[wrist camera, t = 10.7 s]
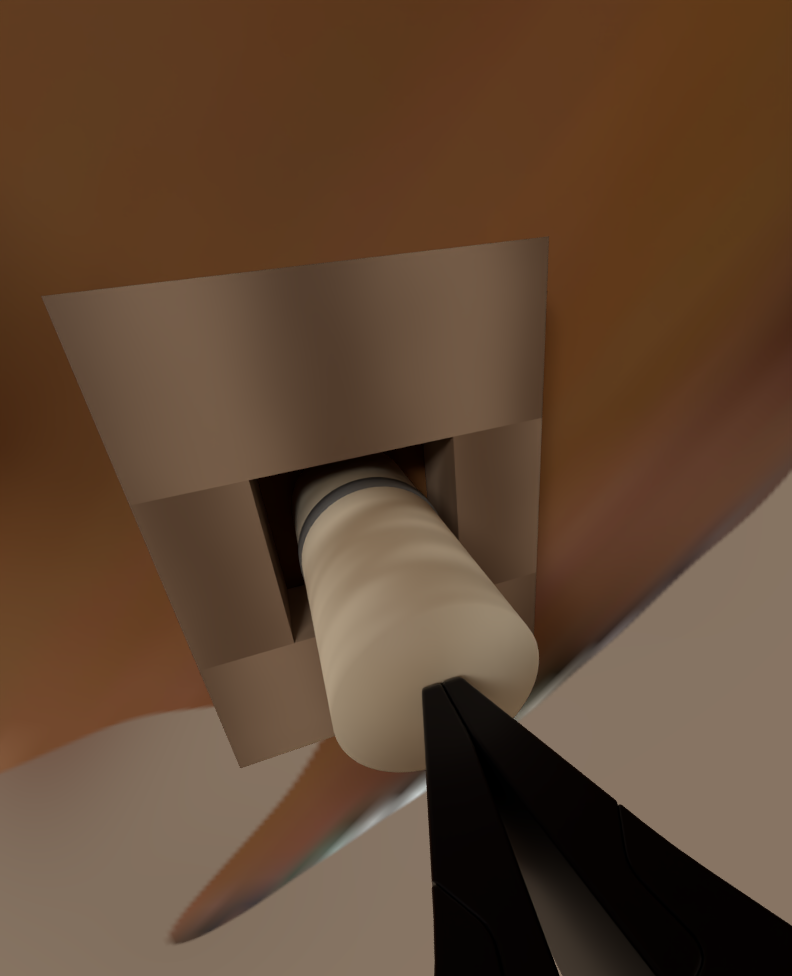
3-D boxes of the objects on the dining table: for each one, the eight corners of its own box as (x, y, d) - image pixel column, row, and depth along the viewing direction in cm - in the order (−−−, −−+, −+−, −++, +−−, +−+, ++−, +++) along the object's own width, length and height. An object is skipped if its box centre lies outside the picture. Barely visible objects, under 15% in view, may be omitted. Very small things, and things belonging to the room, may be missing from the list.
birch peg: (402, 433, 16) (545, 574, 9) (413, 538, 18) (537, 730, 11) (277, 459, 15) (308, 644, 8) (303, 566, 17) (349, 801, 10)
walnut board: (494, 244, 15) (548, 236, 12) (498, 621, 22) (532, 668, 19) (85, 292, 12) (41, 296, 9) (241, 701, 19) (240, 768, 17)
